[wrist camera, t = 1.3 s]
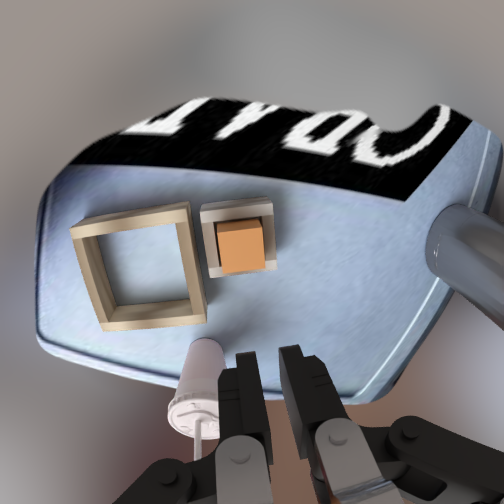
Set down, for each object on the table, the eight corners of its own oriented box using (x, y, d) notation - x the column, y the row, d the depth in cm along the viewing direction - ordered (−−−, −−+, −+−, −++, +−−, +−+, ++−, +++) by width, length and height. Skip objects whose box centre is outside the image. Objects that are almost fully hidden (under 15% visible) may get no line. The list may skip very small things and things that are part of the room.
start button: (257, 218, 23) (262, 227, 21) (261, 256, 24) (265, 268, 22) (217, 223, 23) (217, 232, 21) (222, 261, 24) (222, 273, 22)
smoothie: (183, 321, 29) (168, 436, 16) (242, 335, 30) (259, 448, 17) (171, 365, 31) (158, 471, 18) (225, 376, 32) (233, 481, 19)
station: (266, 191, 25) (272, 198, 22) (274, 297, 29) (279, 313, 26) (83, 218, 24) (69, 228, 21) (111, 315, 28) (102, 331, 25)
